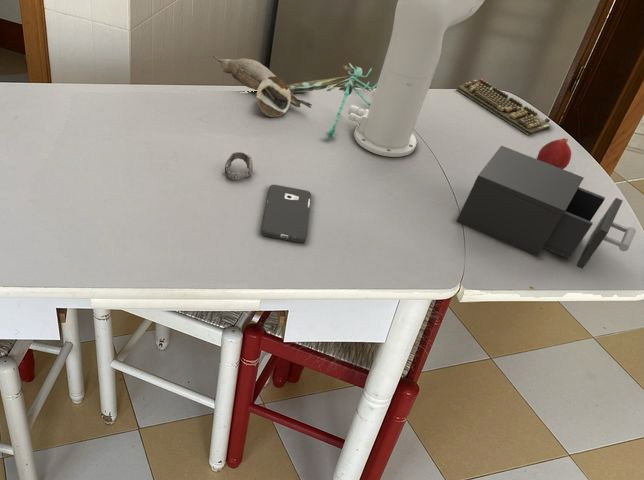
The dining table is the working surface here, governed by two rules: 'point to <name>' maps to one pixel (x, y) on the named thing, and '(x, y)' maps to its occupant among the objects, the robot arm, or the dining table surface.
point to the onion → (556, 153)
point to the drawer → (586, 227)
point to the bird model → (252, 75)
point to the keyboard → (503, 106)
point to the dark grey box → (519, 200)
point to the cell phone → (286, 213)
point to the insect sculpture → (332, 82)
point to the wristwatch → (243, 173)
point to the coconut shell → (273, 96)
